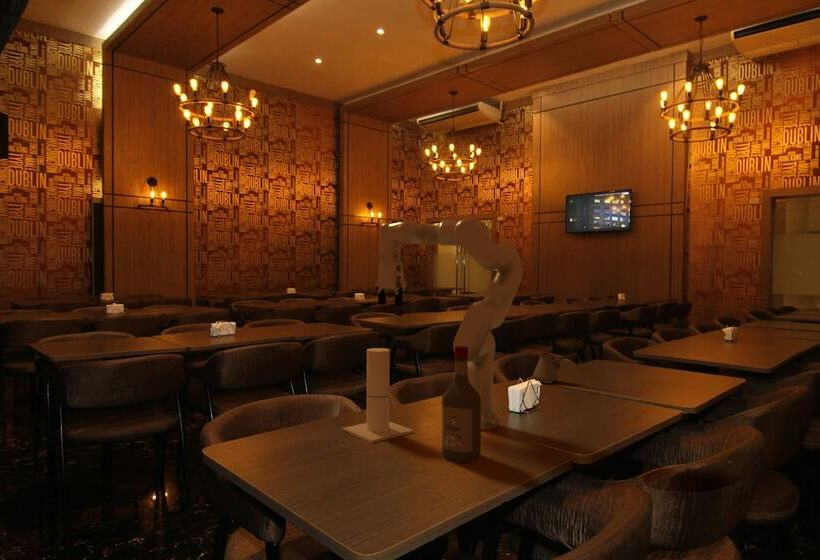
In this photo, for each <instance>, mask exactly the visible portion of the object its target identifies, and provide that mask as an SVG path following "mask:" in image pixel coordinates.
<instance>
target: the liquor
mask: <svg viewBox="0 0 820 560" xmlns="http://www.w3.org/2000/svg"><path fill="white" fill-rule="evenodd" d="M481 431H482V430H481V398H480V395H479V393H478V392H477V391H476V390H475V389H474V388H473V386H472V385H471V384H470V383H469V379H468V347H467V346H455V352H454V378H453V382H452V383H451V384H450V386H449V387H448V388H447V389H446V390H445V391H444V393H443V395H442V397H441V453H442V456H443V458H444V459H445V460H447V461H452V462H456V463H461V464H464V463H465V464H467V463H472V462H474V461H475V460H476V459H479V457H480V456H481V454H482V453H481V451H482V449H481V446H482V443H481V442H482V441H481V440H482V439H481V438H482V436H481V435H482V434H481Z"/></svg>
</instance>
